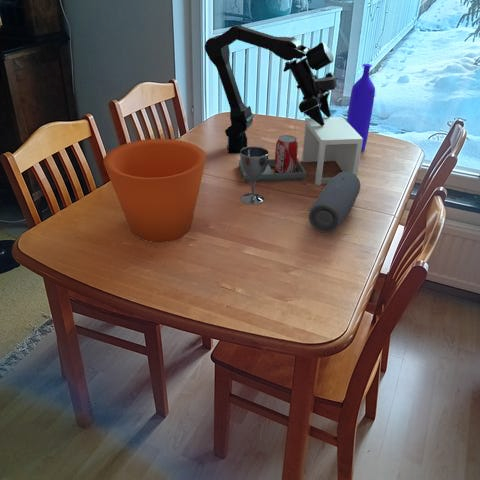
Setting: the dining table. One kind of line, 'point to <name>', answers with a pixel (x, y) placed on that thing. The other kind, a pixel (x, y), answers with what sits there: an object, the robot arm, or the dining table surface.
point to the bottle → (361, 105)
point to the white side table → (331, 145)
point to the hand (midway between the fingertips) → (326, 121)
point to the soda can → (286, 154)
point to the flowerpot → (157, 185)
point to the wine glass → (253, 170)
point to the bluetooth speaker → (334, 202)
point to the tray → (271, 176)
